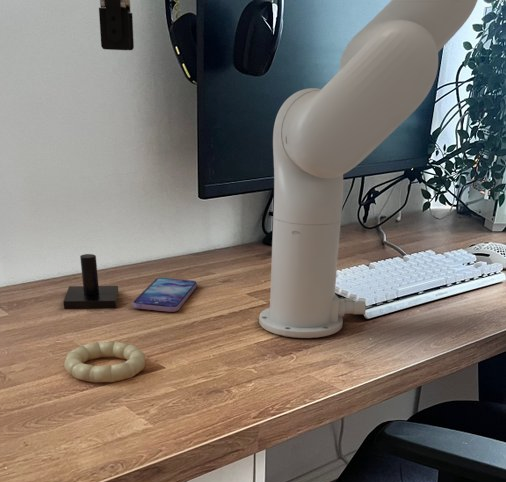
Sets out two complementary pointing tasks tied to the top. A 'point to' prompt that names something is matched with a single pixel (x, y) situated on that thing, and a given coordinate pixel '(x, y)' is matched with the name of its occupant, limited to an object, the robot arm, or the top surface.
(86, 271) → the peg stand
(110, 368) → the segmented ring
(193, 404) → the top surface
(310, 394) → the top surface
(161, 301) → the smartphone
